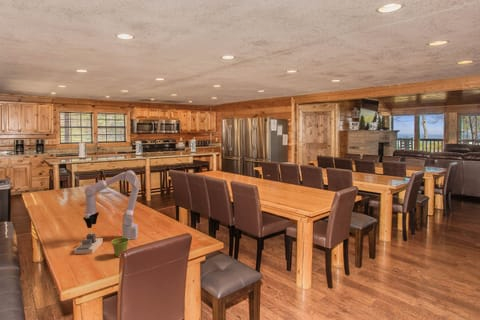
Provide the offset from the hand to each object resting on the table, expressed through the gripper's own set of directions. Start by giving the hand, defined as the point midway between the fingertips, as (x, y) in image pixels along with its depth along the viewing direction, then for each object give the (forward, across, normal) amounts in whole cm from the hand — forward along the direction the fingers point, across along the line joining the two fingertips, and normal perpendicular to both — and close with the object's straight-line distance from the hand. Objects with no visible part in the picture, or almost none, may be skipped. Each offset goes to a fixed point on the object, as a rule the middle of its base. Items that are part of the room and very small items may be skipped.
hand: (91, 226), depth 197 cm
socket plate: (+10, +11, +2) cm, 15 cm away
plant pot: (+10, +24, +24) cm, 35 cm away
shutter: (+7, +17, +2) cm, 19 cm away
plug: (+10, +8, +2) cm, 13 cm away
